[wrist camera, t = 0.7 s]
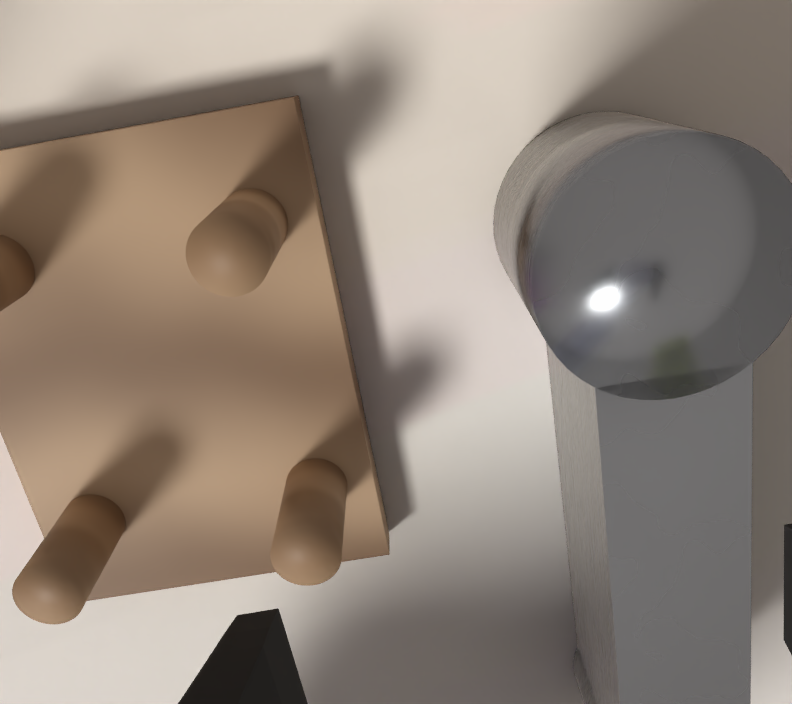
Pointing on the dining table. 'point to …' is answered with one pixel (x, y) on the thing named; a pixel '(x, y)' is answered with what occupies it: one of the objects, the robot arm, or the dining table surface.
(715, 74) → the dining table surface
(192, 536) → the rack
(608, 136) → the grey ball-headed rattle
